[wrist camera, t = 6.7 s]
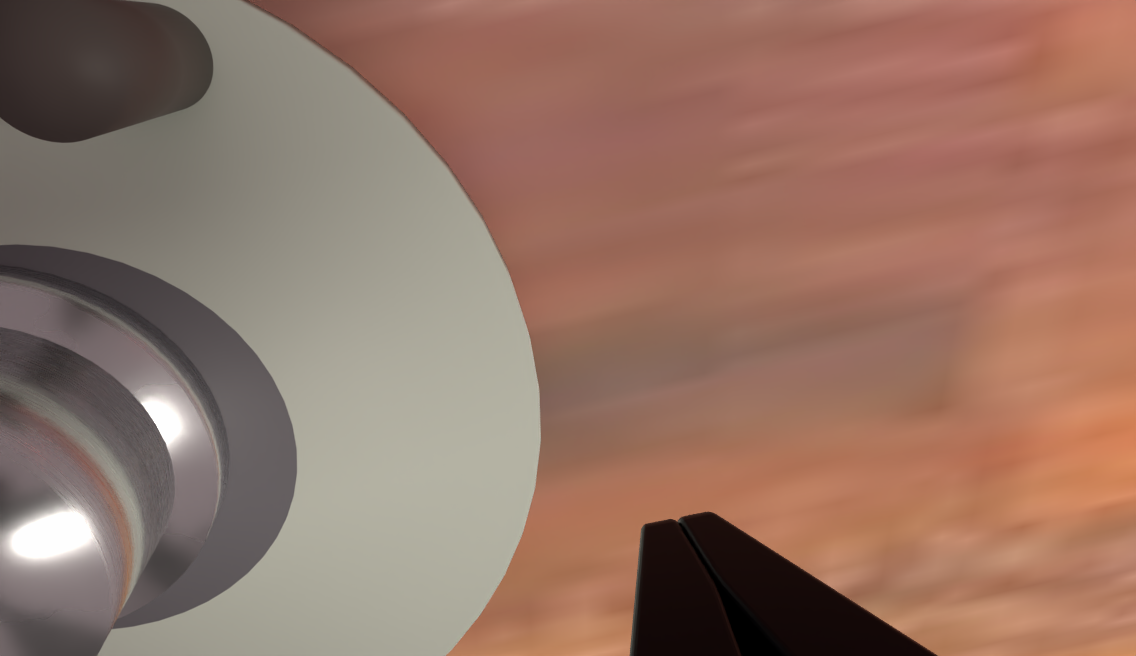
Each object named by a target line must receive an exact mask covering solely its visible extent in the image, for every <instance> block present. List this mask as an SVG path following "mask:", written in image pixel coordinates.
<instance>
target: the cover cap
mask: <svg viewBox="0 0 1136 656" xmlns="http://www.w3.org/2000/svg"><path fill="white" fill-rule="evenodd" d="M229 458H230V452H229V445H228V438H227V431H226V428H225V424H224V421H223V418H222V414H221V411H220V409H219V406H218V404H217V402H216V400H215V398H214V396H213V394H212V391H211V389H210V388H209V386H208V385H207V383H206V381H205V380H204V378H203V377H202V375H201V374H200V372H199V371H198V369H197V368H196V366H195V365H194V364H193V363H192V362H191V360H190V359H189V358H188V357H187V356H186V355H185V353H184V352H183V351H182V350H181V349H180V348H179V347H178V346H177V345H176V344H175V343H174V342H173V341H172V340H171V339H170V338H169V337H168V336H167V335H166V334H165V333H163V332H162V331H161V330H160V329H159V328H158V327H156V326H155V325H154V324H152V323H151V322H150V321H148V320H147V319H145V318H144V317H143V316H141V315H140V314H139V313H137V312H136V311H134V310H132V309H131V308H129V307H127V306H126V305H124V304H122V303H121V302H119V301H117V300H115V299H114V298H112V297H110V296H108V295H106V294H103V293H101V292H99V291H97V290H95V289H92V288H90V287H88V286H86V285H84V284H81V283H78V282H75V281H72V280H69V279H66V278H63V277H60V276H57V275H54V274H50V273H45V272H41V271H36V270H32V269H27V268H22V267H14V266H5V265H0V656H97V655H98V653H99V651H100V650H101V648H102V646H103V644H104V642H105V640H106V639H107V637H108V635H109V633H110V631H111V629H112V627H113V626H114V624H115V622H116V620H117V619H118V618H121V617H123V616H126V615H128V614H130V613H131V612H133V611H135V610H137V609H139V608H141V607H143V606H144V605H146V604H148V603H149V602H151V601H152V600H154V599H155V598H156V597H158V596H159V595H161V594H162V593H163V592H165V591H166V590H167V589H168V588H169V587H170V586H171V585H172V584H174V583H175V582H176V581H177V580H178V579H179V578H180V577H181V576H182V575H183V574H184V572H185V571H186V570H187V569H188V567H189V566H190V565H191V564H192V562H193V561H194V560H195V558H196V557H197V555H198V553H199V551H200V550H201V548H202V546H203V544H204V542H205V541H206V539H207V536H208V534H209V532H210V530H211V528H212V525H213V523H214V521H215V519H216V517H217V514H218V512H219V509H220V507H221V504H222V501H223V499H224V496H225V493H226V487H227V482H228V477H229Z"/></svg>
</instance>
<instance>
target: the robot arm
mask: <svg viewBox="0 0 1136 656" xmlns="http://www.w3.org/2000/svg"><path fill="white" fill-rule="evenodd" d="M630 656H937V655H936V654H934V653H933V652H931V651H930V650H928V649H927V648H925V647H923V646H922V645H920V644H919V643H917V642H916V641H914V640H912V639H911V638H909V637H908V636H906V635H905V634H903V633H901V632H900V631H898V630H897V629H895V628H894V627H892V626H890V625H889V624H887V623H886V622H884V621H883V620H881V619H880V618H878V617H876V616H875V615H873V614H872V613H870V612H869V611H867V610H865V609H864V608H862V607H861V606H859V605H858V604H856V603H854V602H853V601H851V600H850V599H848V598H847V597H845V596H843V595H842V594H840V593H839V592H837V591H836V590H834V589H833V588H831V587H829V586H828V585H826V584H825V583H823V582H822V581H820V580H818V579H817V578H815V577H814V576H812V575H811V574H809V573H807V572H806V571H804V570H803V569H801V568H800V567H798V566H796V565H795V564H793V563H792V562H790V561H789V560H787V559H785V558H784V557H782V556H781V555H779V554H778V553H776V552H775V551H773V550H771V549H770V548H768V547H767V546H765V545H764V544H762V543H760V542H759V541H757V540H756V539H754V538H753V537H751V536H749V535H748V534H746V533H745V532H743V531H742V530H740V529H738V528H737V527H735V526H734V525H732V524H731V523H729V522H728V521H726V520H724V519H723V518H721V517H720V516H718V515H717V514H715V513H712V512H703V513H698V514H693V515H688V516H683V517H681V518H680V519H679V520H678V522H677V521H676V520H673V519H668V520H663V521H658V522H653V523H648V524H645V525H644V526H643V527H642V529H641V537H640V548H639V559H638V570H637V581H636V592H635V603H634V614H633V625H632V636H631V646H630Z"/></svg>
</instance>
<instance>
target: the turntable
mask: <svg viewBox="0 0 1136 656" xmlns="http://www.w3.org/2000/svg"><path fill="white" fill-rule="evenodd" d="M0 265H5V266H14V267H22V268H27V269H32V270H36V271H41V272H45V273H50V274H54V275H57V276H60V277H63V278H66V279H69V280H72V281H75V282H78V283H81V284H84V285H86V286H88V287H90V288H92V289H95V290H97V291H99V292H101V293H103V294H106V295H108V296H110V297H112V298H114V299H115V300H117V301H119V302H121V303H122V304H124V305H126V306H127V307H129V308H131V309H132V310H134V311H136V312H137V313H139V314H140V315H141V316H143V317H144V318H145V319H147V320H148V321H150V322H151V323H152V324H154V325H155V326H156V327H158V328H159V329H160V330H161V331H162V332H163V333H165V334H166V335H167V336H168V337H169V338H170V339H171V340H172V341H173V342H174V343H175V344H176V345H177V346H178V347H179V348H180V349H181V350H182V351H183V352H184V353H185V355H186V356H187V357H188V358H189V359H190V360H191V362H192V363H193V364H194V365H195V366H196V368H197V369H198V371H199V372H200V374H201V375H202V377H203V378H204V380H205V381H206V383H207V385H208V386H209V388H210V389H211V391H212V394H213V396H214V398H215V400H216V402H217V404H218V406H219V409H220V411H221V414H222V418H223V421H224V424H225V428H226V431H227V438H228V445H229V452H230V458H229V477H228V482H227V487H226V493H225V496H224V499H223V501H222V504H221V507H220V509H219V512H218V514H217V517H216V519H215V521H214V523H213V525H212V528H211V530H210V532H209V534H208V536H207V539H206V541H205V542H204V544H203V546H202V548H201V550H200V551H199V553H198V555H197V557H196V558H195V560H194V561H193V562H192V564H191V565H190V566H189V567H188V569H187V570H186V571H185V572H184V574H183V575H182V576H181V577H180V578H179V579H178V580H177V581H176V582H175V583H174V584H172V585H171V586H170V587H169V588H168V589H167V590H166V591H165V592H163V593H162V594H161V595H159V596H158V597H156V598H155V599H154V600H152V601H151V602H149V603H148V604H146V605H144V606H143V607H141V608H139V609H137V610H135V611H133V612H131V613H130V614H128V615H126V616H123V617H121V618H118V619H117V620H116V622H115V624H114V626H113V627H112V629H111V631H110V633H109V635H108V637H107V639H106V640H105V642H104V644H103V646H102V648H101V650H100V651H99V653H98V655H97V656H446V655H447V654H448V653H449V652H450V651H451V650H452V649H453V648H454V646H455V645H456V644H457V643H458V641H459V640H460V639H461V638H462V637H463V635H464V634H465V633H466V632H467V630H468V629H469V628H470V627H471V625H472V624H473V623H474V622H475V621H476V619H477V618H478V617H479V616H480V614H481V613H482V611H483V610H484V608H485V606H486V605H487V603H488V601H489V600H490V598H491V596H492V595H493V593H494V592H495V590H496V588H497V587H498V585H499V583H500V582H501V580H502V579H503V577H504V575H505V573H506V571H507V568H508V566H509V564H510V561H511V559H512V557H513V555H514V552H515V550H516V548H517V545H518V543H519V541H520V538H521V536H522V534H523V530H524V527H525V523H526V519H527V516H528V512H529V508H530V505H531V501H532V497H533V494H534V490H535V484H536V476H537V467H538V459H539V450H540V442H541V434H540V400H539V386H538V380H537V375H536V369H535V364H534V358H533V352H532V347H531V341H530V336H529V333H528V330H527V326H526V323H525V320H524V316H523V313H522V310H521V307H520V304H519V301H518V298H517V295H516V292H515V289H514V286H513V283H512V280H511V277H510V274H509V271H508V268H507V265H506V263H505V261H504V259H503V257H502V255H501V253H500V251H499V249H498V247H497V245H496V243H495V241H494V239H493V237H492V235H491V233H490V231H489V229H488V227H487V225H486V223H485V221H484V219H483V216H482V215H481V213H480V212H479V210H478V209H477V207H476V206H475V204H474V203H473V201H472V200H471V198H470V197H469V195H468V194H467V192H466V191H465V189H464V188H463V186H462V185H461V183H460V182H459V180H458V179H457V177H456V176H455V174H454V173H453V171H452V170H451V168H450V167H449V165H448V164H447V162H446V161H445V160H444V159H443V158H442V157H441V156H440V154H439V153H438V152H437V151H436V150H435V149H434V148H433V146H432V145H431V144H430V143H429V142H428V141H427V139H426V138H425V137H424V136H423V135H422V134H421V133H420V131H419V130H418V129H417V128H416V127H415V126H414V124H413V123H412V122H411V121H410V120H409V119H408V118H407V116H406V115H405V114H404V113H403V112H402V111H400V110H399V109H398V108H397V107H396V106H395V105H394V104H393V103H392V102H391V101H389V100H388V99H387V98H386V97H385V96H384V95H383V94H382V93H381V92H379V91H378V90H377V89H376V88H375V87H374V86H373V85H372V84H371V83H369V82H368V81H367V80H366V79H365V78H364V77H363V76H362V75H361V74H359V73H358V72H357V71H356V70H355V69H354V68H353V67H351V66H350V65H349V64H347V63H346V62H344V61H343V60H341V59H340V58H339V57H337V56H336V55H334V54H333V53H332V52H330V51H329V50H327V49H326V48H324V47H323V46H322V45H320V44H319V43H317V42H316V41H315V40H313V39H312V38H310V37H309V36H307V35H306V34H305V33H303V32H302V31H300V30H299V29H298V28H296V27H295V26H293V25H292V24H290V23H288V22H286V21H284V20H283V19H281V18H279V17H277V16H275V15H273V14H271V13H270V12H268V11H266V10H264V9H262V8H260V7H259V6H257V5H255V4H253V3H251V2H249V1H247V0H0Z"/></svg>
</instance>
